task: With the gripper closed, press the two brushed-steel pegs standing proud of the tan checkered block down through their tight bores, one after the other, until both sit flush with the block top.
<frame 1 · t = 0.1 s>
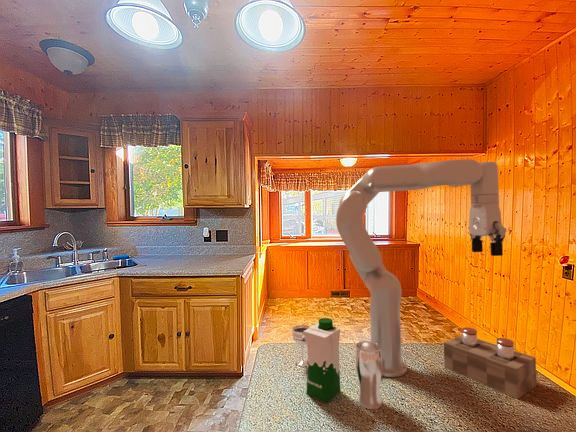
hand: (486, 253, 93), 37 cm above the countertop, tool pointing down, fingers open, 9 cm apart
beer glass: (369, 403, 77), on the countertop
peg left: (469, 341, 93), point 9 cm above the countertop, slide at 4.5 cm
tan checkered block: (487, 375, 89), on the countertop
peg right: (505, 353, 84), point 9 cm above the countertop, slide at 4.5 cm
wineglass: (302, 364, 99), on the countertop
milk carton: (323, 393, 82), on the countertop
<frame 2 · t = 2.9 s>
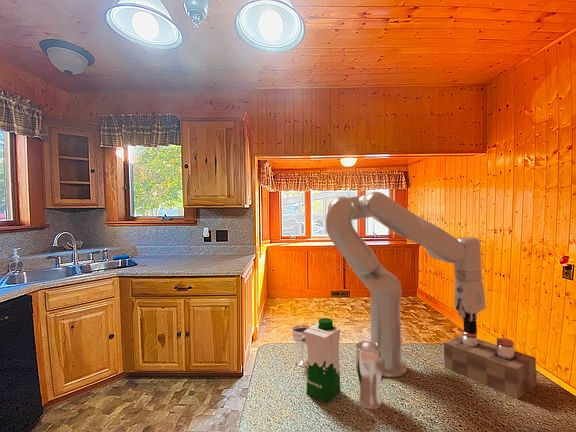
hand: (470, 332, 93), 12 cm above the countertop, tool pointing down, fingers closed
peg left: (469, 343, 93), point 8 cm above the countertop, slide at 3.7 cm, touching gripper
everything else where it was.
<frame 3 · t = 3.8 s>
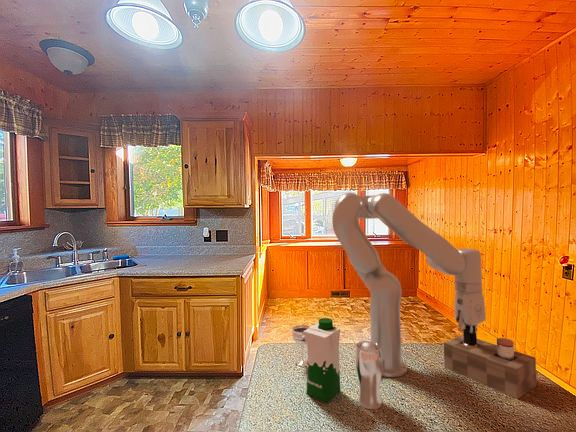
hand: (470, 343, 93), 8 cm above the countertop, tool pointing down, fingers closed
peg left: (470, 355, 93), point 4 cm above the countertop, slide at 0.0 cm, touching gripper
everything else where it was.
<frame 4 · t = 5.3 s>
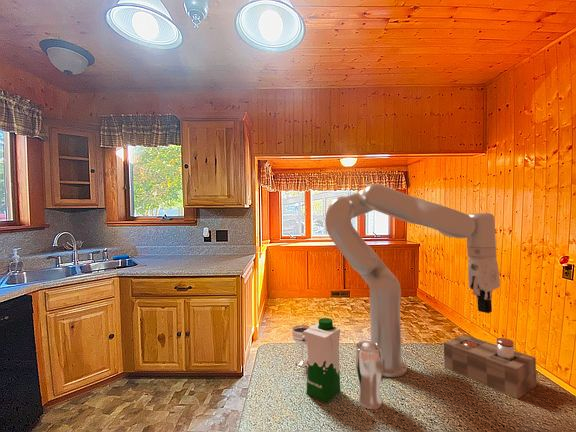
hand: (484, 311, 89), 20 cm above the countertop, tool pointing down, fingers closed
peg left: (470, 355, 93), point 4 cm above the countertop, slide at 0.0 cm
everything else where it was.
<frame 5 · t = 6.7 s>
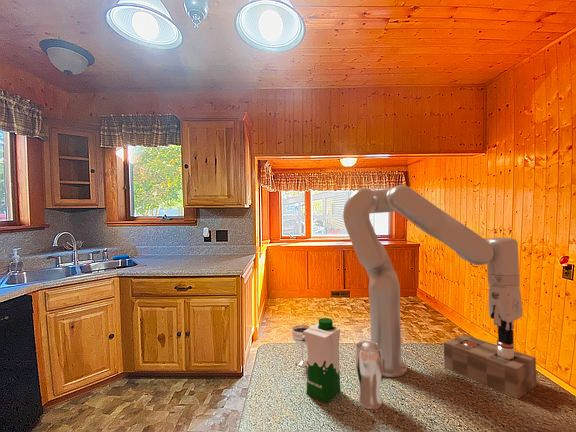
hand: (505, 342, 84), 12 cm above the countertop, tool pointing down, fingers closed
peg right: (505, 355, 84), point 8 cm above the countertop, slide at 4.0 cm, touching gripper
everything else where it was.
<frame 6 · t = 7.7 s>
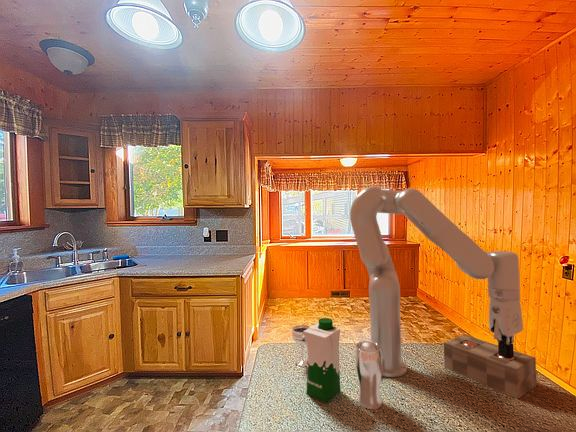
hand: (506, 356, 84), 8 cm above the countertop, tool pointing down, fingers closed
peg right: (505, 368, 84), point 4 cm above the countertop, slide at 0.0 cm, touching gripper
everything else where it was.
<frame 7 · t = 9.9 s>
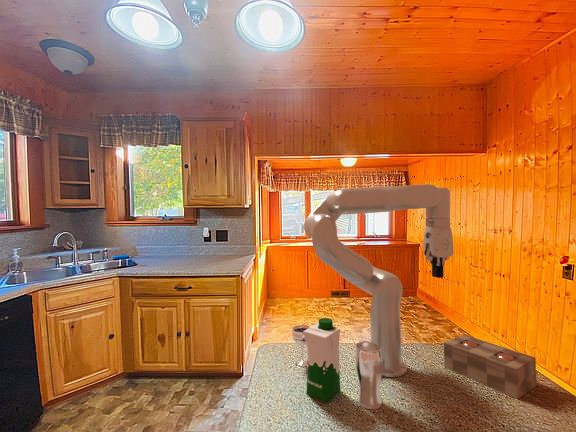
hand: (437, 276, 99), 29 cm above the countertop, tool pointing down, fingers closed
peg right: (505, 368, 84), point 4 cm above the countertop, slide at 0.0 cm
everything else where it was.
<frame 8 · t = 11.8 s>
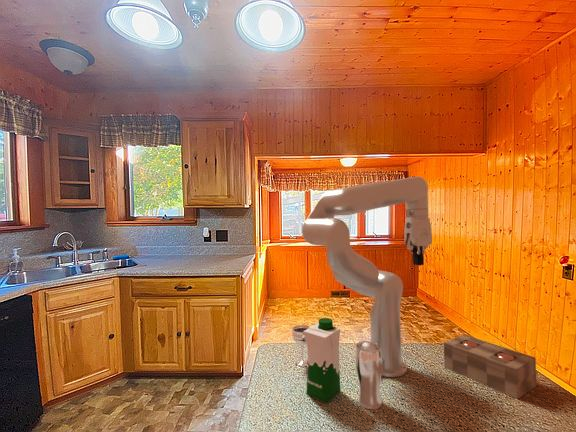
hand: (418, 264, 104), 32 cm above the countertop, tool pointing down, fingers closed
nothing on the countertop moved.
at the end: peg left slide at 0.0 cm; peg right slide at 0.0 cm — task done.
